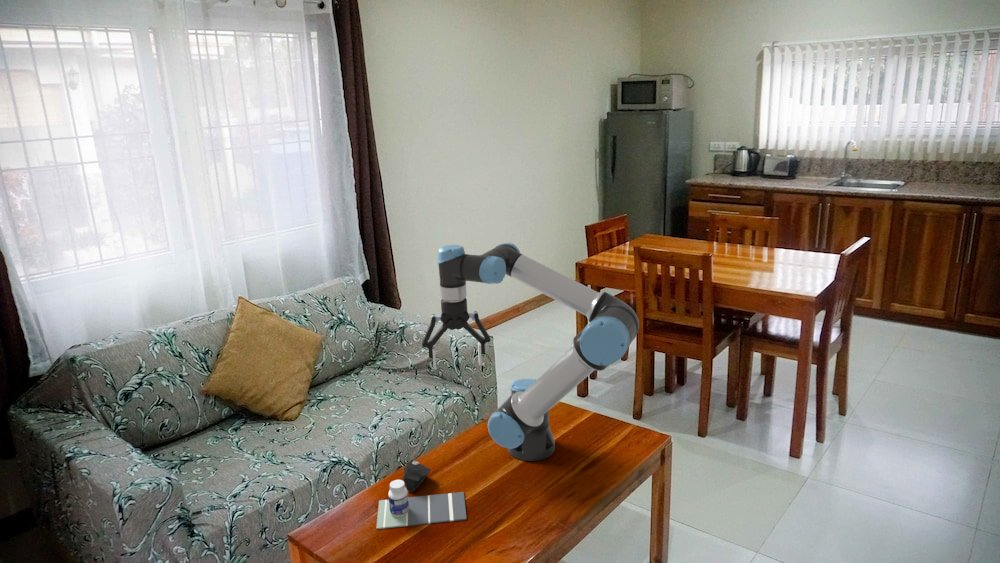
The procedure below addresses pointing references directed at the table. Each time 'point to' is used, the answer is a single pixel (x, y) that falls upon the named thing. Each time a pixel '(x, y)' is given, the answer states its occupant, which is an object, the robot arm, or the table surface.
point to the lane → (424, 510)
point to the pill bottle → (398, 498)
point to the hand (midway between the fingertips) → (457, 365)
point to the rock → (414, 475)
